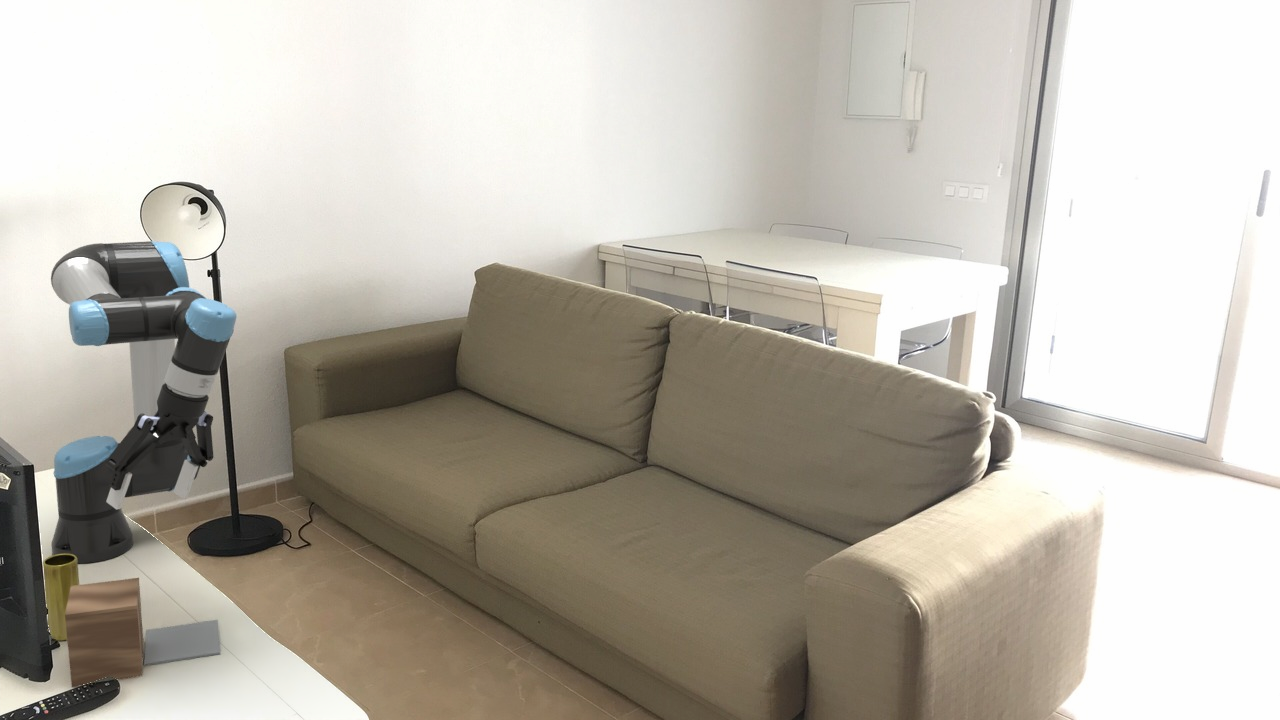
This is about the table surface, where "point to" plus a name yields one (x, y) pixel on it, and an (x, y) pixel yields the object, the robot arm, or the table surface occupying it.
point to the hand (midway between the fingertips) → (147, 500)
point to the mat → (182, 642)
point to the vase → (59, 590)
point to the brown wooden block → (104, 631)
